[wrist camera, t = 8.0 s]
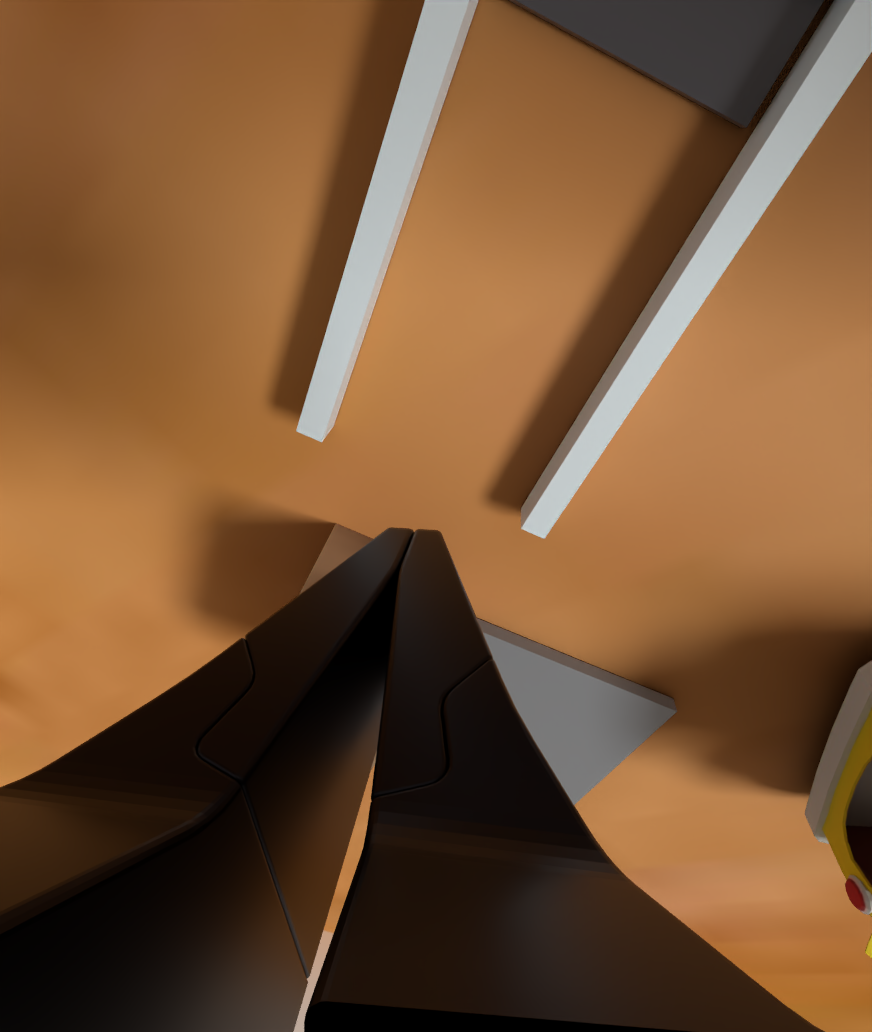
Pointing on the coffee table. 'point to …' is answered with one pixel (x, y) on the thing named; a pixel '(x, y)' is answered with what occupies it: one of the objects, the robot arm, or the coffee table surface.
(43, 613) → the coffee table surface
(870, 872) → the toy car
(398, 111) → the acrylic channel
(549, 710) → the slate coaster
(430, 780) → the robot arm
